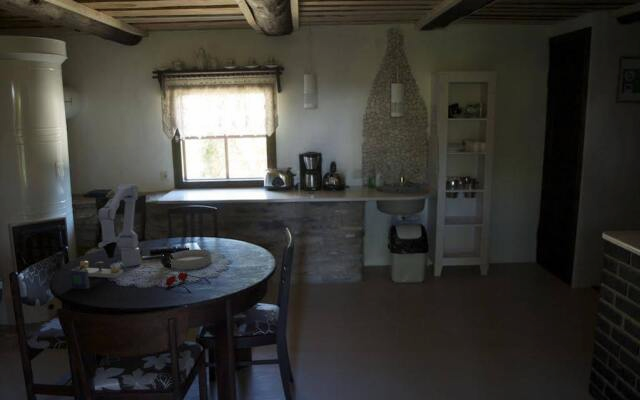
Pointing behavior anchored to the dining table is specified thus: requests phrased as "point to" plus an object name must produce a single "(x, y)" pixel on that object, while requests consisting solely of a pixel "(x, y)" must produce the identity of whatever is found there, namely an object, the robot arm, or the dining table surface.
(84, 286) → the flask
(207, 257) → the dish
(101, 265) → the graphite knob
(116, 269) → the brass knob
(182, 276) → the glasses
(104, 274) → the mount board
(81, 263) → the brass knob
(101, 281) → the dining table surface
